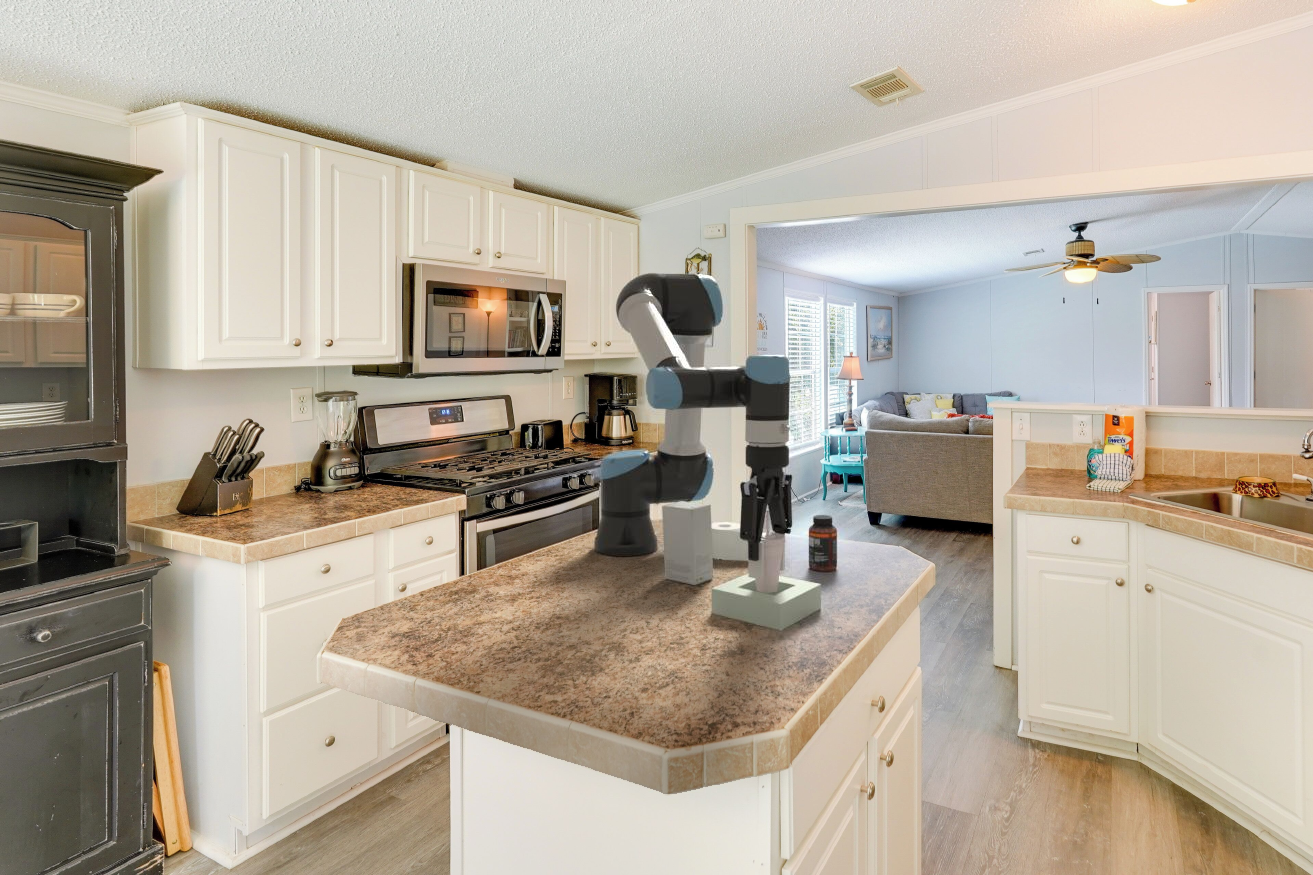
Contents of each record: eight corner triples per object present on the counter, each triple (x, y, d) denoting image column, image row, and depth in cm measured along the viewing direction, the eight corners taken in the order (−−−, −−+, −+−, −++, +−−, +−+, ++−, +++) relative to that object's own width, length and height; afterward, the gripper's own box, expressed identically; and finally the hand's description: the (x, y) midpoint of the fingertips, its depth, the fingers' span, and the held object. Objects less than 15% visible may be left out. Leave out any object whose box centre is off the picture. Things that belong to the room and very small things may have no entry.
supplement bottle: (834, 564, 162) (835, 513, 161) (838, 572, 156) (839, 519, 155) (807, 564, 163) (807, 513, 161) (809, 572, 157) (810, 519, 156)
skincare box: (713, 579, 152) (713, 504, 150) (693, 586, 147) (692, 509, 146) (683, 572, 158) (682, 499, 156) (661, 578, 153) (661, 504, 151)
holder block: (711, 613, 132) (711, 588, 131) (754, 593, 142) (754, 570, 142) (780, 630, 123) (781, 603, 122) (820, 608, 133) (821, 584, 133)
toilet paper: (755, 561, 166) (755, 530, 165) (705, 559, 168) (705, 529, 167) (757, 552, 174) (757, 522, 173) (709, 550, 176) (709, 521, 175)
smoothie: (787, 585, 134) (788, 509, 133) (781, 596, 128) (782, 516, 127) (752, 582, 136) (753, 507, 135) (745, 592, 130) (745, 514, 129)
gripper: (755, 450, 120) (755, 590, 122) (813, 440, 135) (812, 565, 137) (717, 447, 125) (718, 582, 127) (777, 438, 139) (776, 558, 142)
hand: (766, 573), depth 132 cm, fingers closed on smoothie, 6 cm apart
